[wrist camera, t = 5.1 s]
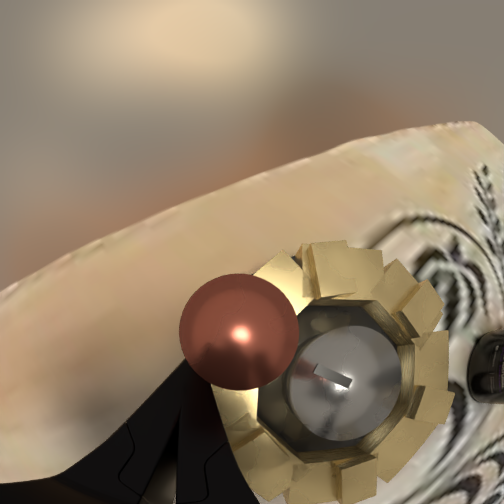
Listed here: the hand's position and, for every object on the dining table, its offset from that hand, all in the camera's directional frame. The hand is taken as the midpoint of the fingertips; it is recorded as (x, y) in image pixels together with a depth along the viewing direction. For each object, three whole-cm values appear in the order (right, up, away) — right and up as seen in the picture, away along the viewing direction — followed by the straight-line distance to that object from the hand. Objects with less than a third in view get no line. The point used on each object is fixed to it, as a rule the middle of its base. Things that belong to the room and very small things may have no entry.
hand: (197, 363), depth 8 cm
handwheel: (+6, -4, +6) cm, 10 cm away
